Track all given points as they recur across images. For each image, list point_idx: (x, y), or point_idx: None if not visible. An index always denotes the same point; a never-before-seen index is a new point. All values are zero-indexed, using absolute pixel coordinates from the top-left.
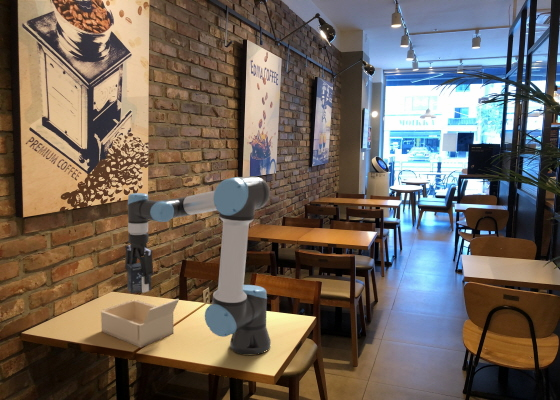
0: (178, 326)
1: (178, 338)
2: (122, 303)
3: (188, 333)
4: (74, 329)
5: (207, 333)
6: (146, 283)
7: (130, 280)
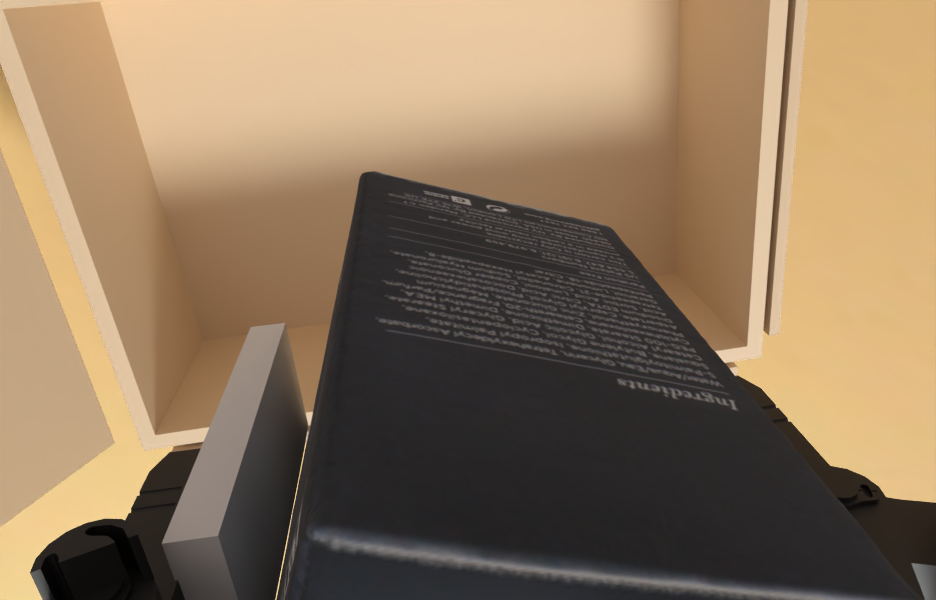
0: None
1: (76, 320)
2: (782, 217)
3: (120, 418)
4: None
5: (30, 506)
6: (154, 472)
7: (427, 269)
